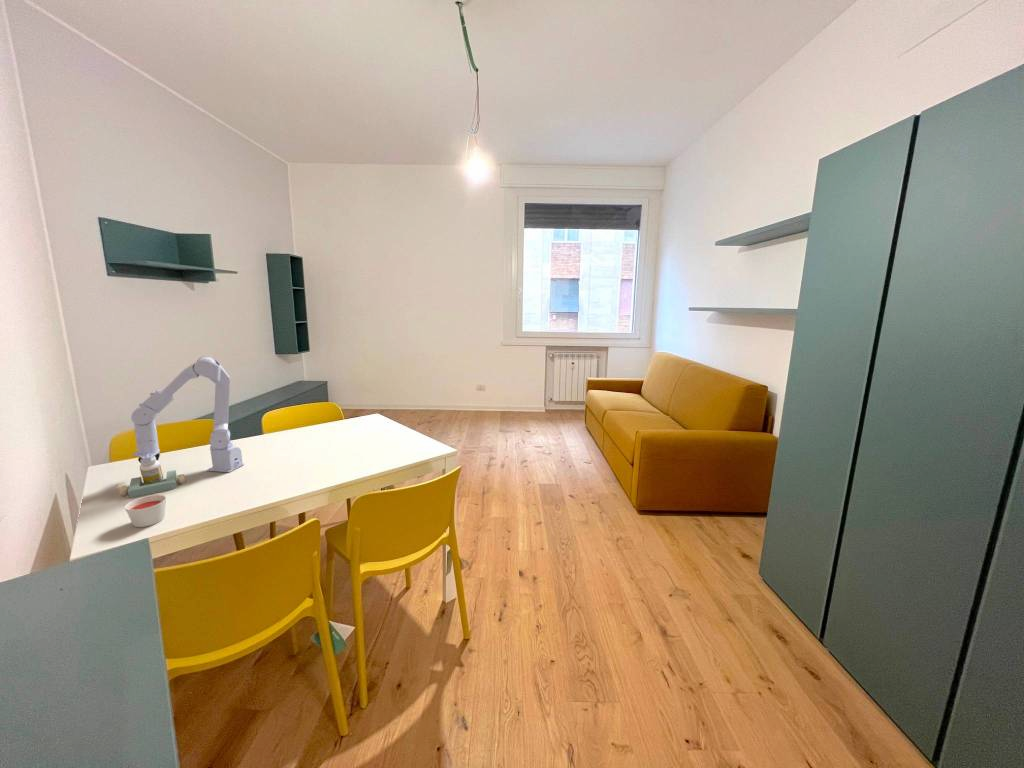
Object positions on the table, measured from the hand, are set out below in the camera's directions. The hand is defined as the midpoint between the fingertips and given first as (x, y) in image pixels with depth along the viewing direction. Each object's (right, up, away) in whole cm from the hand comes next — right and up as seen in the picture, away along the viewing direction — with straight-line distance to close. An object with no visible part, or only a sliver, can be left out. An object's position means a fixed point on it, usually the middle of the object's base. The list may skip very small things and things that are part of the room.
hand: (151, 474), depth 143 cm
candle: (+23, -8, -26) cm, 35 cm away
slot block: (+5, -3, -4) cm, 7 cm away
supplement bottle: (+2, -2, -1) cm, 3 cm away
